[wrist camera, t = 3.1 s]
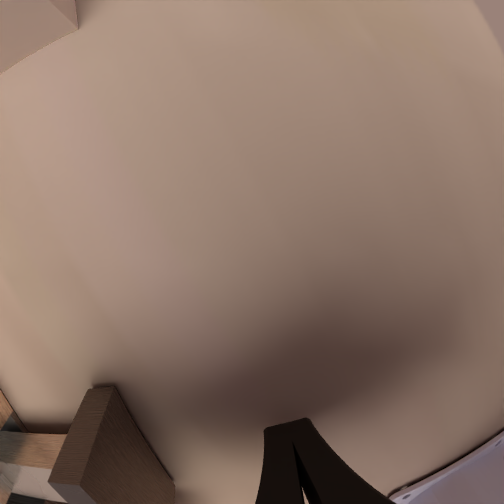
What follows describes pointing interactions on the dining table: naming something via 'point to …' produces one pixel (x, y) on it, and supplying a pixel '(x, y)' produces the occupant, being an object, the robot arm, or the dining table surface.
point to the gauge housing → (6, 420)
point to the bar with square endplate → (86, 459)
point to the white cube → (32, 27)
